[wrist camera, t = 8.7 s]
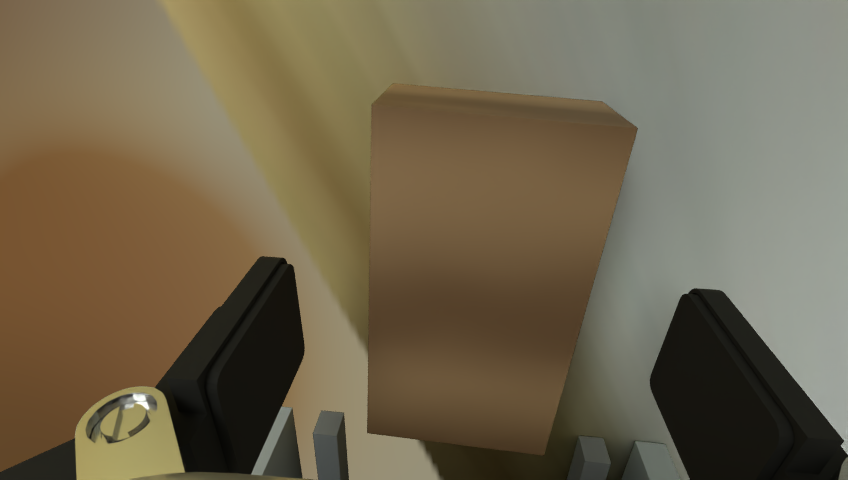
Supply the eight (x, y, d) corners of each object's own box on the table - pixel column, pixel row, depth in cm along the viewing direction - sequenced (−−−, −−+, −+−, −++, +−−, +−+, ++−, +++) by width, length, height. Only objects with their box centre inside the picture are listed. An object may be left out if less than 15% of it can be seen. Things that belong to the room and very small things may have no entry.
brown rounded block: (395, 81, 14) (371, 104, 10) (599, 99, 13) (637, 128, 10) (384, 362, 19) (367, 433, 16) (531, 379, 18) (543, 455, 15)
